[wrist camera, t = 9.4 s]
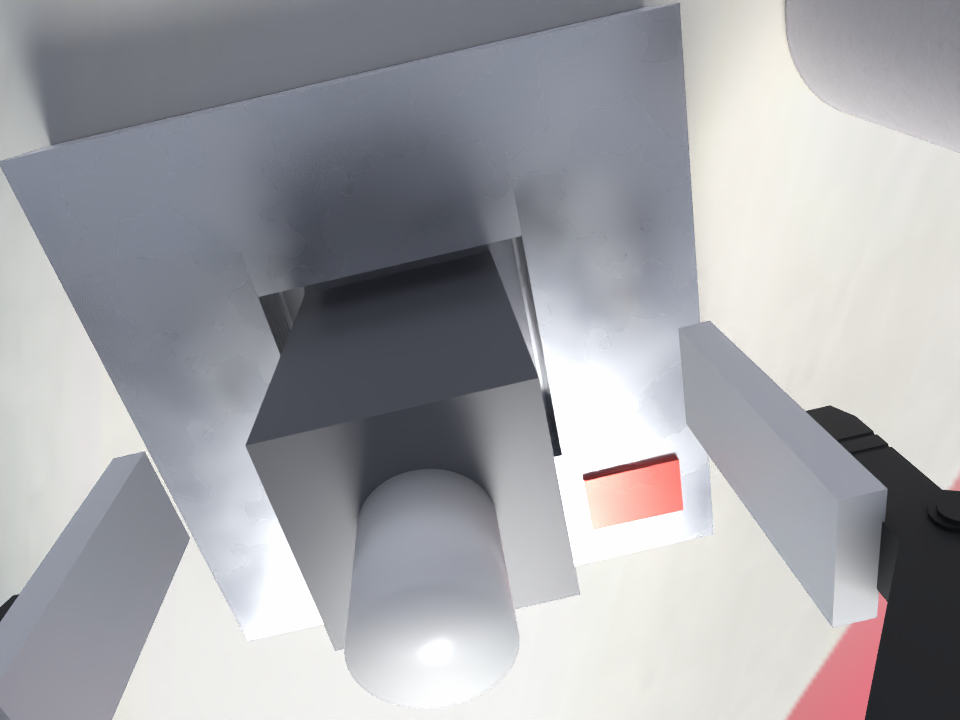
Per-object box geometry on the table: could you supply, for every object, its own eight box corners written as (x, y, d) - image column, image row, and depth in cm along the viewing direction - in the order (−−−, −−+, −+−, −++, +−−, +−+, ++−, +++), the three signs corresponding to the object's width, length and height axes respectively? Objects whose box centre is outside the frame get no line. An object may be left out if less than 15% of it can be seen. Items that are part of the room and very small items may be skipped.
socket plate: (262, 586, 25) (246, 646, 22) (49, 145, 18) (-7, 163, 15) (685, 488, 25) (715, 538, 22) (644, 7, 18) (682, 2, 15)
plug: (359, 448, 22) (318, 788, 12) (304, 293, 19) (199, 560, 10) (523, 410, 22) (618, 720, 12) (490, 251, 19) (576, 474, 10)
